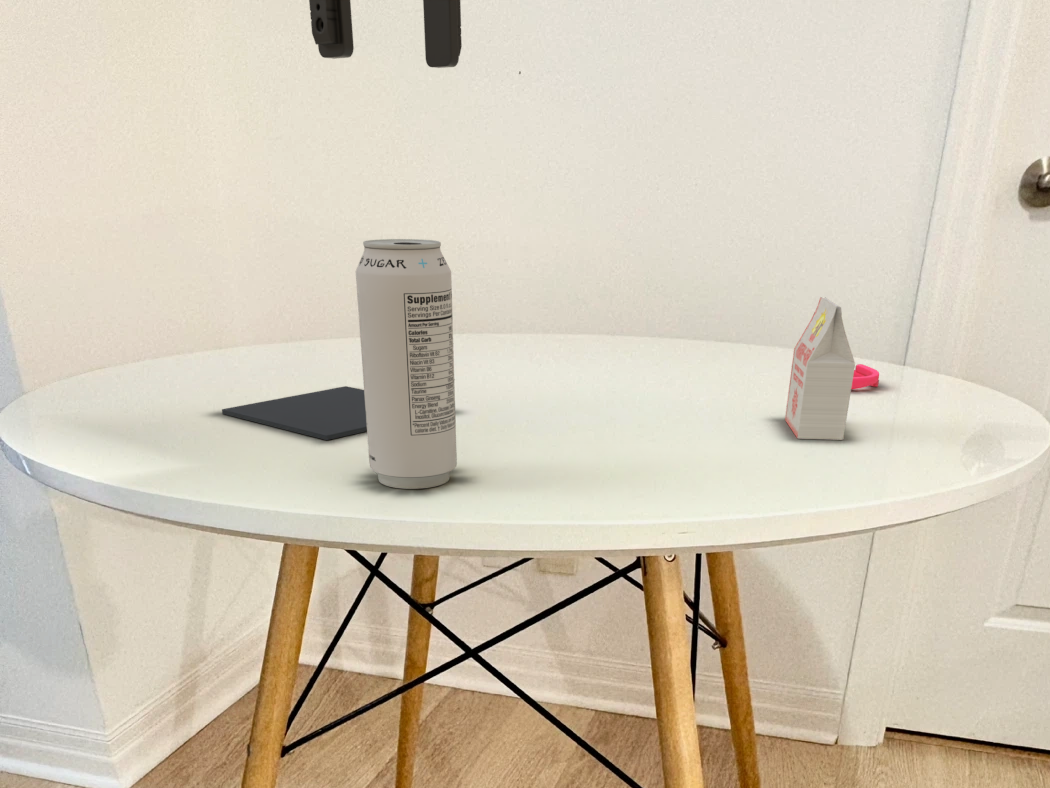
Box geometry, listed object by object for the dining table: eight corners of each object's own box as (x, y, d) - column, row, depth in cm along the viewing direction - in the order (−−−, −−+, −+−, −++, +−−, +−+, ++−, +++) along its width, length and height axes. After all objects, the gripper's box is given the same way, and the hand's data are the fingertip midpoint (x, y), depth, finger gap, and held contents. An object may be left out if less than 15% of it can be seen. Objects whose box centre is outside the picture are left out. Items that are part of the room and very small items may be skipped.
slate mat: (326, 440, 79) (326, 435, 79) (222, 413, 87) (221, 409, 87) (450, 412, 89) (450, 407, 88) (346, 390, 96) (345, 386, 96)
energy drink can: (413, 462, 74) (401, 237, 66) (475, 477, 70) (470, 242, 63) (352, 480, 69) (333, 241, 62) (415, 496, 66) (402, 247, 59)
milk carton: (827, 421, 87) (845, 297, 82) (843, 439, 81) (864, 307, 77) (784, 419, 88) (800, 296, 83) (797, 438, 82) (815, 306, 77)
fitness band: (888, 390, 100) (891, 374, 99) (833, 392, 99) (836, 375, 98) (852, 375, 106) (854, 360, 106) (800, 376, 106) (802, 361, 105)
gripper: (418, -258, 58) (431, 73, 66) (208, -342, 49) (253, 57, 57) (516, -289, 54) (517, 68, 62) (308, -388, 44) (341, 49, 52)
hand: (391, 62), depth 59 cm, fingers open, 8 cm apart
